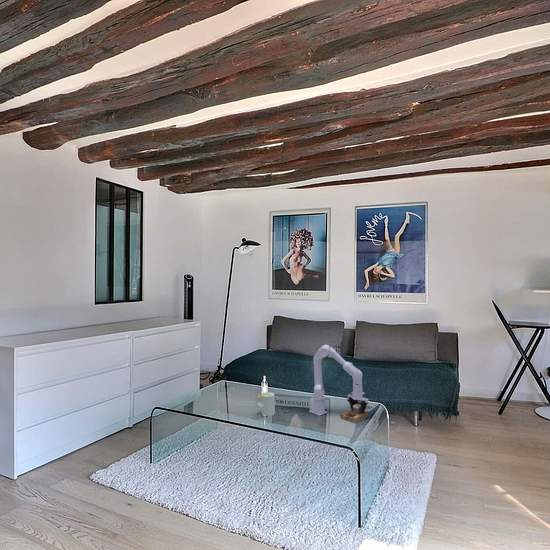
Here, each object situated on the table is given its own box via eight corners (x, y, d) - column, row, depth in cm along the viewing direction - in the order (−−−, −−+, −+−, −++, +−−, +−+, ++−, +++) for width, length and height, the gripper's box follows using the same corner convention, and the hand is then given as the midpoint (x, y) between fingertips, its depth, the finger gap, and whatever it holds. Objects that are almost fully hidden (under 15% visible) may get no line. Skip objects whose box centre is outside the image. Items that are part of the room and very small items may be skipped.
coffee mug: (365, 406, 279) (365, 391, 279) (364, 410, 271) (364, 395, 270) (347, 404, 282) (347, 390, 282) (346, 409, 274) (346, 394, 273)
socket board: (340, 418, 259) (340, 414, 259) (354, 412, 268) (354, 408, 268) (354, 423, 251) (354, 418, 250) (368, 416, 260) (368, 412, 260)
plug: (353, 416, 261) (352, 405, 261) (356, 414, 264) (356, 403, 264) (358, 418, 258) (358, 406, 258) (362, 416, 261) (362, 405, 261)
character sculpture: (268, 407, 279) (267, 388, 279) (282, 411, 273) (282, 390, 272) (249, 417, 263) (249, 396, 262) (264, 421, 256) (264, 399, 256)
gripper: (344, 388, 264) (344, 410, 264) (363, 394, 253) (364, 416, 253) (351, 386, 268) (351, 407, 269) (370, 391, 258) (370, 412, 258)
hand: (357, 411), depth 262 cm, fingers open, 7 cm apart
